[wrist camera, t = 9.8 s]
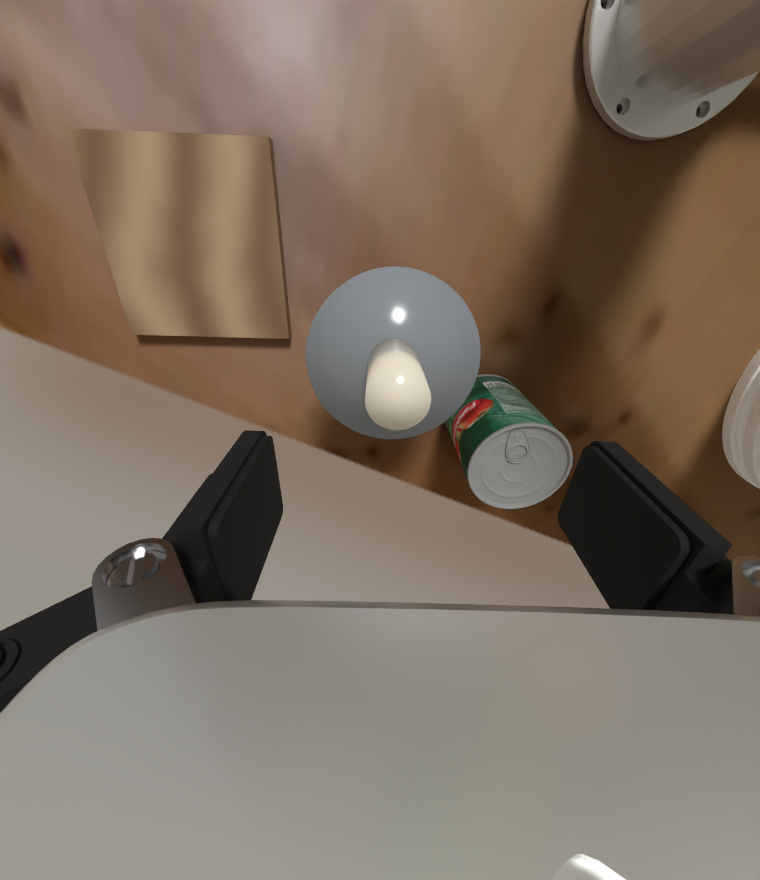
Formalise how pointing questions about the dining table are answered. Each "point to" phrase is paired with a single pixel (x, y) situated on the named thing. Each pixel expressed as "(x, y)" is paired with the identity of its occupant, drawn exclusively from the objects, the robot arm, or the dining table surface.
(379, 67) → the dining table surface
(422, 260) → the dining table surface
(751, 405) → the plate stack
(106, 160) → the cork mat
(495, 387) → the canned tomato
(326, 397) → the lid
